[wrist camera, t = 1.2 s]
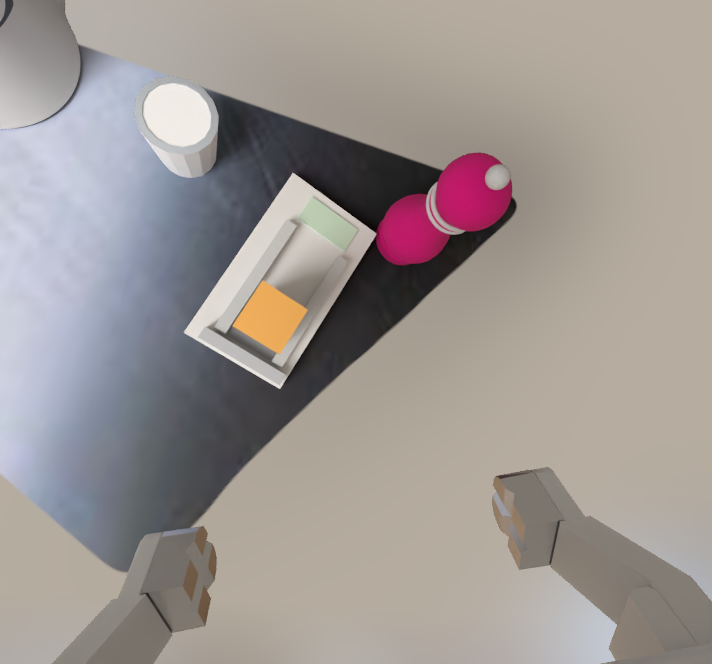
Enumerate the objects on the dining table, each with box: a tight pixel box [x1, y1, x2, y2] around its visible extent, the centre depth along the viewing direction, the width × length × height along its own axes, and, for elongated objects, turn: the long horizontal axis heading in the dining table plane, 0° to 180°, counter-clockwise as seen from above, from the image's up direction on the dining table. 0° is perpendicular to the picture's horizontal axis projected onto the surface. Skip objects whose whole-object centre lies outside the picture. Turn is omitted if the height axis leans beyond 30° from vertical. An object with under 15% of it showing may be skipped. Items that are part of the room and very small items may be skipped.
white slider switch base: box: [184, 173, 376, 389], centre depth 42 cm, size 11×20×4 cm, turn 148°
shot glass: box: [134, 76, 219, 178], centre depth 38 cm, size 7×7×7 cm
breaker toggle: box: [233, 280, 308, 354], centre depth 36 cm, size 4×4×10 cm
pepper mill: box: [376, 153, 512, 265], centre depth 38 cm, size 7×7×20 cm
